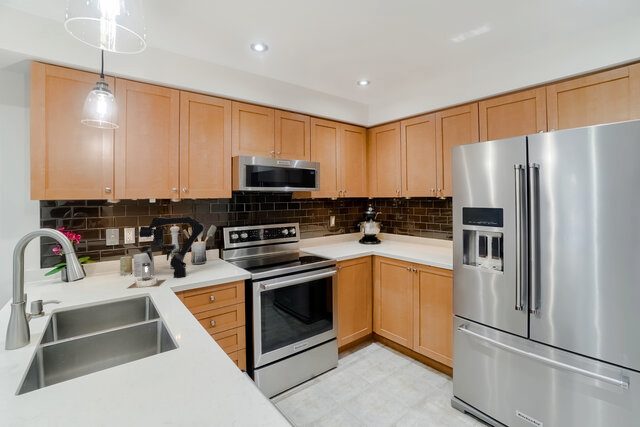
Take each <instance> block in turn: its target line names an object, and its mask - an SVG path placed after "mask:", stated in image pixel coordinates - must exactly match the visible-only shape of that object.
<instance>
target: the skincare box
mask: <svg viewBox="0 0 640 427" xmlns="http://www.w3.org/2000/svg"><path fill="white" fill-rule="evenodd" d="M119 266H120V267H119V269H120V270H119V273H120V274H119V275H120V276H129V275H128V274H131V273H132V274H133V256H121V257H119ZM132 274H131V275H132Z"/></svg>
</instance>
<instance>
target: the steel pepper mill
mask: <svg viewBox="0 0 640 427" xmlns="http://www.w3.org/2000/svg"><path fill="white" fill-rule="evenodd" d="M151 277H152V276H151V265H150V263H142V277H141V278H142V281H148V280H151Z"/></svg>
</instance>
